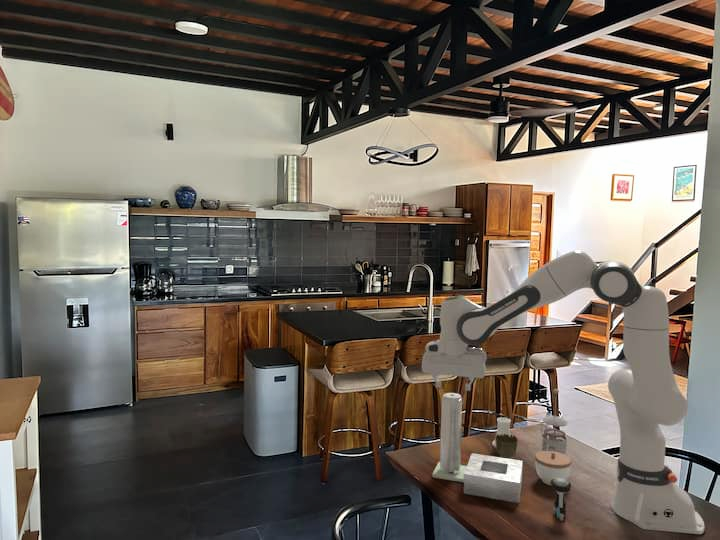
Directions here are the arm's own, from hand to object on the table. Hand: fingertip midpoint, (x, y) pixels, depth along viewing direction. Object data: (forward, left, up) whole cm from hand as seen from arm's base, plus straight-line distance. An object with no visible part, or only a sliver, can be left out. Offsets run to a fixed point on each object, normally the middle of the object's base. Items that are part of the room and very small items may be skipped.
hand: (453, 388), depth 169 cm
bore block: (-14, +4, -28) cm, 32 cm away
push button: (-33, +15, -28) cm, 46 cm away
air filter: (0, 0, -27) cm, 27 cm away
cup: (-16, -17, -28) cm, 37 cm away
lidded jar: (-31, -6, -28) cm, 42 cm away
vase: (-14, -29, -28) cm, 43 cm away
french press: (-31, -24, -28) cm, 48 cm away
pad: (0, 0, -28) cm, 28 cm away
